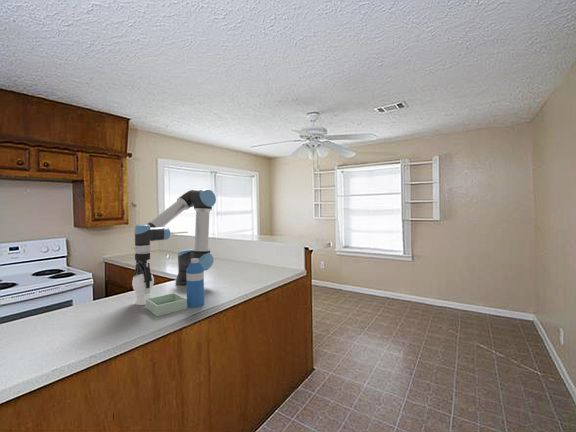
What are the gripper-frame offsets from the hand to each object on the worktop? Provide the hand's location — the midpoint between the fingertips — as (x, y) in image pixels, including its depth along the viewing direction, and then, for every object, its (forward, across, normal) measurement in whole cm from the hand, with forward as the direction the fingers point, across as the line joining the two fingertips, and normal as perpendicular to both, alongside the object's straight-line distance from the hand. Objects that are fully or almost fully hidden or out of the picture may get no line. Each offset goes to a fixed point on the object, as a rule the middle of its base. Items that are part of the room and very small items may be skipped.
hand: (142, 291), depth 159 cm
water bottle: (+7, +23, +20) cm, 31 cm away
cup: (+7, 0, 0) cm, 7 cm away
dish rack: (+7, +17, +6) cm, 20 cm away
